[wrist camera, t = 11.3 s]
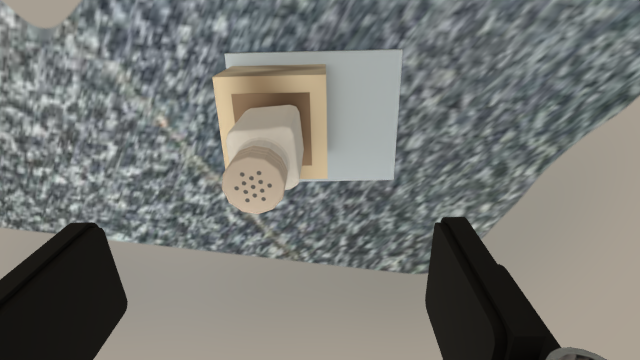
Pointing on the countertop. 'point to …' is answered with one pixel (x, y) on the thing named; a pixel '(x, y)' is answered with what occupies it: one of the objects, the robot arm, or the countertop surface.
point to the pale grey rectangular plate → (351, 106)
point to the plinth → (278, 104)
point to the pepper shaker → (263, 157)
